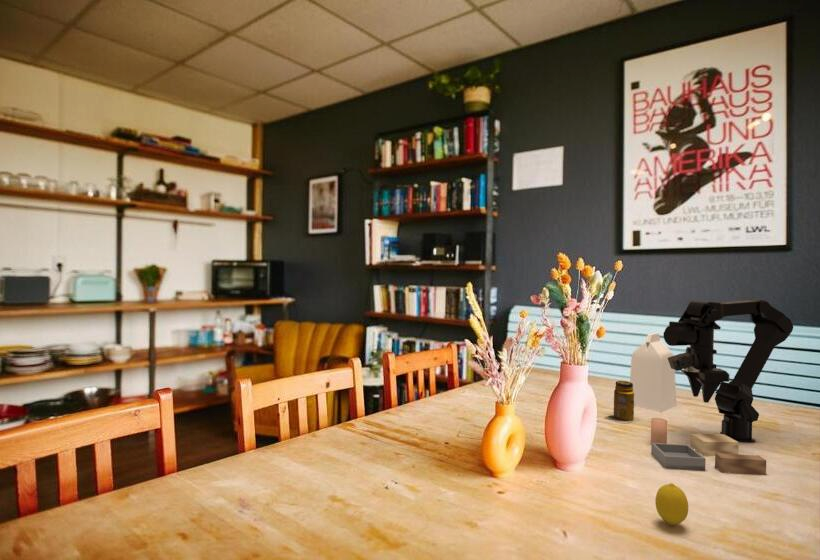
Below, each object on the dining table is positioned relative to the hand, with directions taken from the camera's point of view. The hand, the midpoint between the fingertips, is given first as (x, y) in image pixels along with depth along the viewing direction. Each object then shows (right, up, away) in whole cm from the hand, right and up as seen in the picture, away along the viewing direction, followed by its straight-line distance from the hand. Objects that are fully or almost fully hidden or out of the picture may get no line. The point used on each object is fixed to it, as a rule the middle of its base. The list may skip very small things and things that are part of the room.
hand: (700, 399), depth 136 cm
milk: (+5, -12, +36) cm, 38 cm away
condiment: (-14, -12, +20) cm, 27 cm away
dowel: (-14, -12, -3) cm, 18 cm away
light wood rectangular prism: (-1, -13, -8) cm, 15 cm away
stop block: (-3, -12, -20) cm, 24 cm away
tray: (-15, -12, -15) cm, 24 cm away
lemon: (-33, -13, -45) cm, 57 cm away
